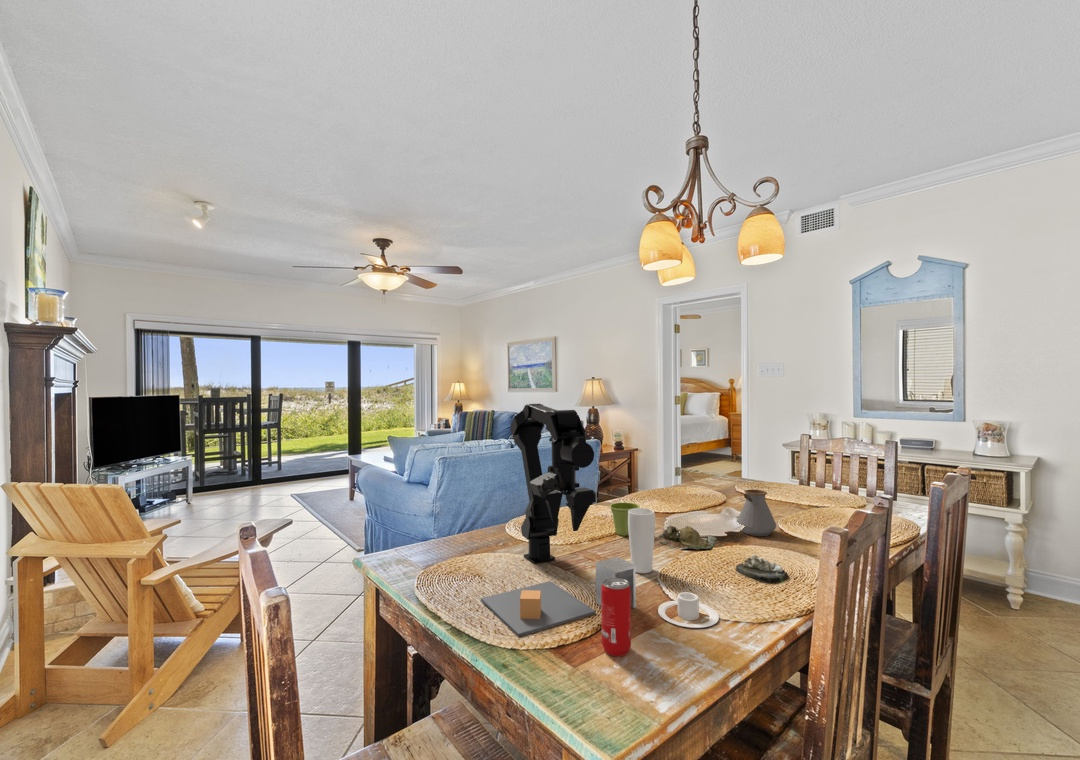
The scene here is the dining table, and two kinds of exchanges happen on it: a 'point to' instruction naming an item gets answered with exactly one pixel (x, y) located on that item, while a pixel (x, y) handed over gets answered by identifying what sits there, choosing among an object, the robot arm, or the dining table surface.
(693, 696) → the dining table surface
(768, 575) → the stone carving
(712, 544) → the olive green lumpy piece
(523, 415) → the robot arm
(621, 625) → the beverage can
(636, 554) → the drinking glass
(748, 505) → the coffee pot
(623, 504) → the plant pot
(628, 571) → the steel cover
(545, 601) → the slate board
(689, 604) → the candle holder
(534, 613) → the orange block
